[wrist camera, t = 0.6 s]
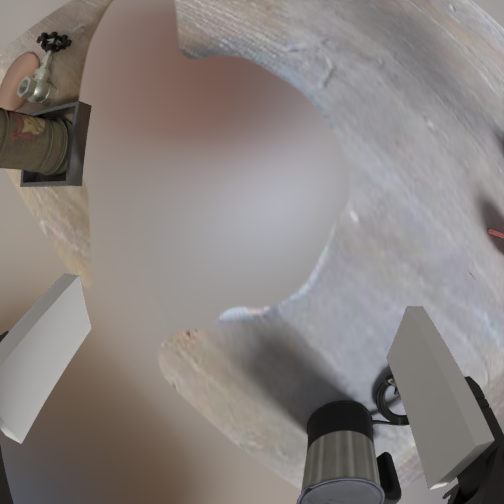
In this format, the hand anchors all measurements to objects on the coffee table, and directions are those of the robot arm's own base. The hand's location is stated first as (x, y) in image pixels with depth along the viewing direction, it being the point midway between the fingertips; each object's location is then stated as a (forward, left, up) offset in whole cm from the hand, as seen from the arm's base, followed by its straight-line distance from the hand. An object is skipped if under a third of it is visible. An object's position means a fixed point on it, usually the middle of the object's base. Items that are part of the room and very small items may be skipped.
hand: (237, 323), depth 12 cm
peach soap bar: (-27, -52, -25) cm, 64 cm away
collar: (-12, -36, -25) cm, 46 cm away
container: (-12, -36, -25) cm, 46 cm away
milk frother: (+21, +13, -25) cm, 35 cm away
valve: (-26, -41, -25) cm, 55 cm away
